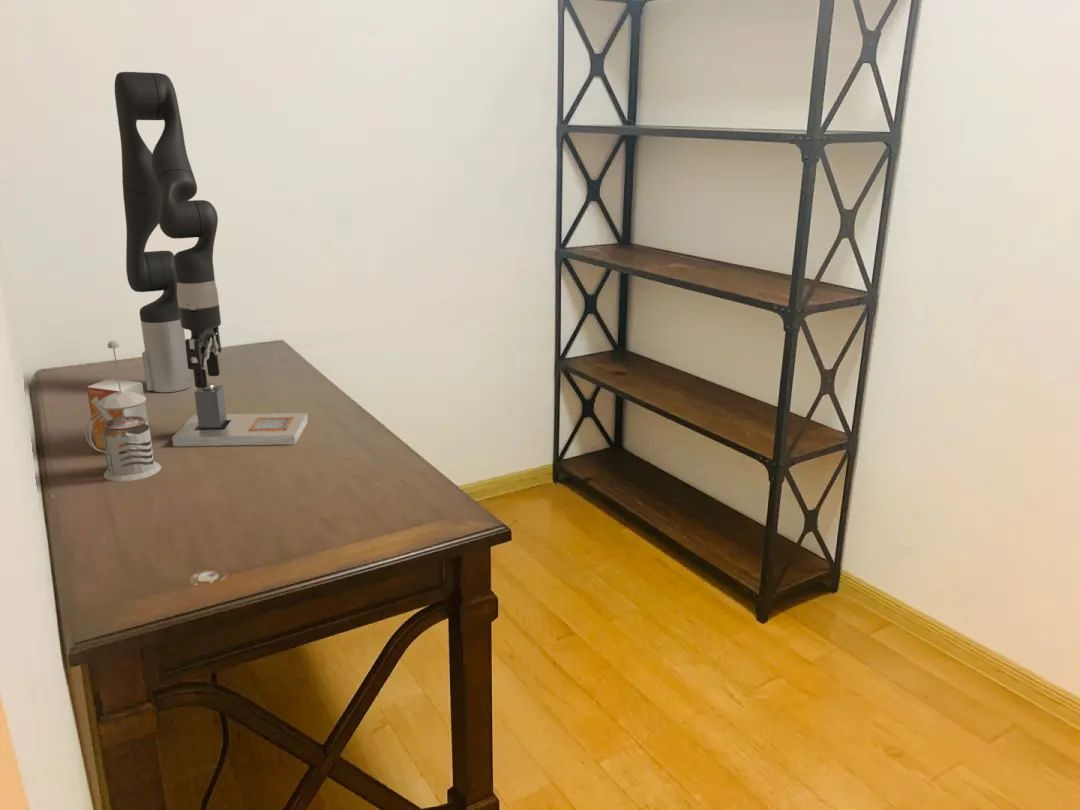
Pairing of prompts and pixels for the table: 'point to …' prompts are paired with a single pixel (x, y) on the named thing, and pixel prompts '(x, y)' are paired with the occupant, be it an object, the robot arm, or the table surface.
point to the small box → (103, 390)
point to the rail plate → (245, 430)
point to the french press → (125, 437)
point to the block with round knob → (211, 407)
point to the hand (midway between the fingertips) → (208, 381)
